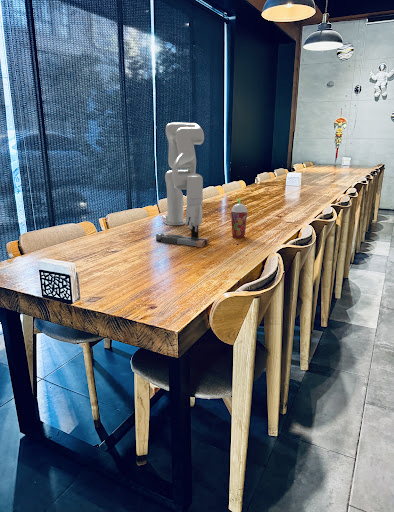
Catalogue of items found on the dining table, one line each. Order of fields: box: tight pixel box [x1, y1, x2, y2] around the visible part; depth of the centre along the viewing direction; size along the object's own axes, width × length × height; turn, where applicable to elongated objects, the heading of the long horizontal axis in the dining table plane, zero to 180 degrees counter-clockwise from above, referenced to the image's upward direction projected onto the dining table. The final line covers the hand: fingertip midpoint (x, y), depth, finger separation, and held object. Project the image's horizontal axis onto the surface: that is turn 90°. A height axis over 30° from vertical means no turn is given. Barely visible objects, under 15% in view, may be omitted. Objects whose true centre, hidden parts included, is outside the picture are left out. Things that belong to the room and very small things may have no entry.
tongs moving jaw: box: [155, 233, 210, 246], centre depth 182 cm, size 26×5×3 cm, turn 69°
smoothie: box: [230, 197, 248, 239], centre depth 192 cm, size 8×8×20 cm
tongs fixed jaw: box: [161, 236, 206, 248], centre depth 179 cm, size 22×3×3 cm, turn 64°
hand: (194, 239), depth 184 cm, fingers closed
